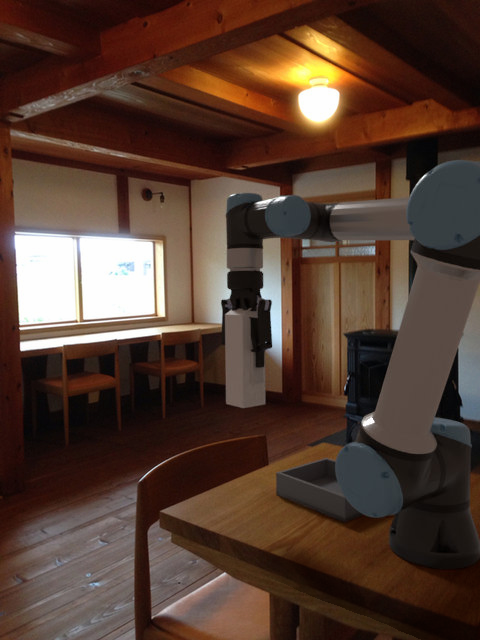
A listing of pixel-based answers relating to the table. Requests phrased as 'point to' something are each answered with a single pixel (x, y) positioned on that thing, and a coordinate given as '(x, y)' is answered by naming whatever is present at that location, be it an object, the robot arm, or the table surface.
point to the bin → (316, 489)
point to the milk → (241, 361)
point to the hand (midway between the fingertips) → (246, 381)
